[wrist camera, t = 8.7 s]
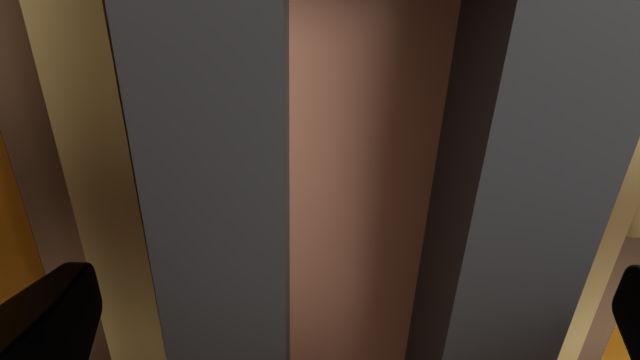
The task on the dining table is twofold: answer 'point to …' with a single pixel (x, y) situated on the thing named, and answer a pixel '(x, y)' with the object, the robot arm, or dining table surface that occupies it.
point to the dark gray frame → (375, 170)
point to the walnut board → (121, 189)
